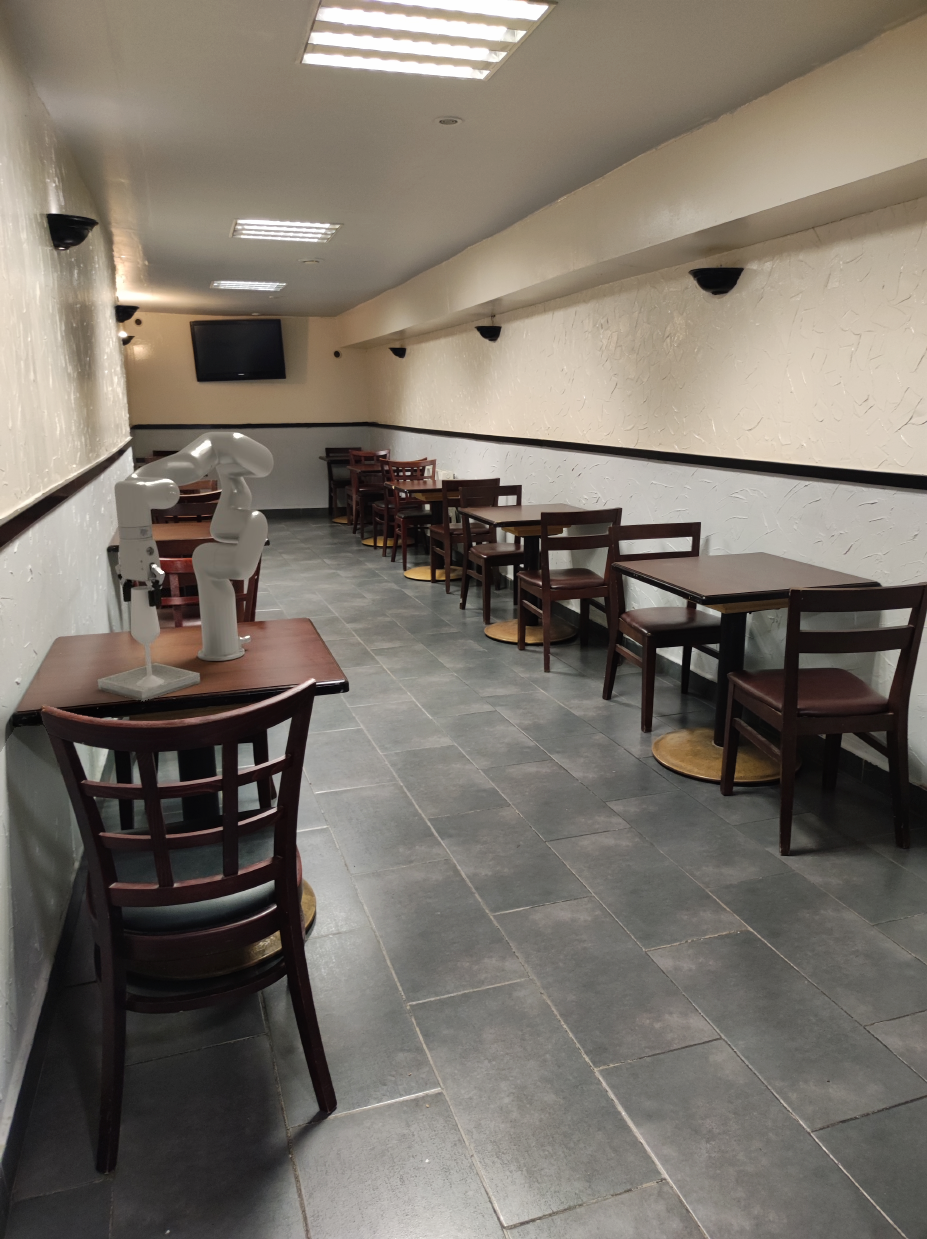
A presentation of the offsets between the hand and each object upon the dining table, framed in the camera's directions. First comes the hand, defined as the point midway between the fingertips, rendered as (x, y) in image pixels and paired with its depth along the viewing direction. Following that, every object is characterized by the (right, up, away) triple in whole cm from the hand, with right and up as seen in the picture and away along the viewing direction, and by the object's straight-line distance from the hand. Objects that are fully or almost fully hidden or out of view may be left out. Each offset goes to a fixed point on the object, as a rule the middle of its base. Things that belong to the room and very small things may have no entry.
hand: (142, 603), depth 206 cm
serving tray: (0, -20, +5) cm, 21 cm away
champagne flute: (0, -20, +5) cm, 20 cm away
